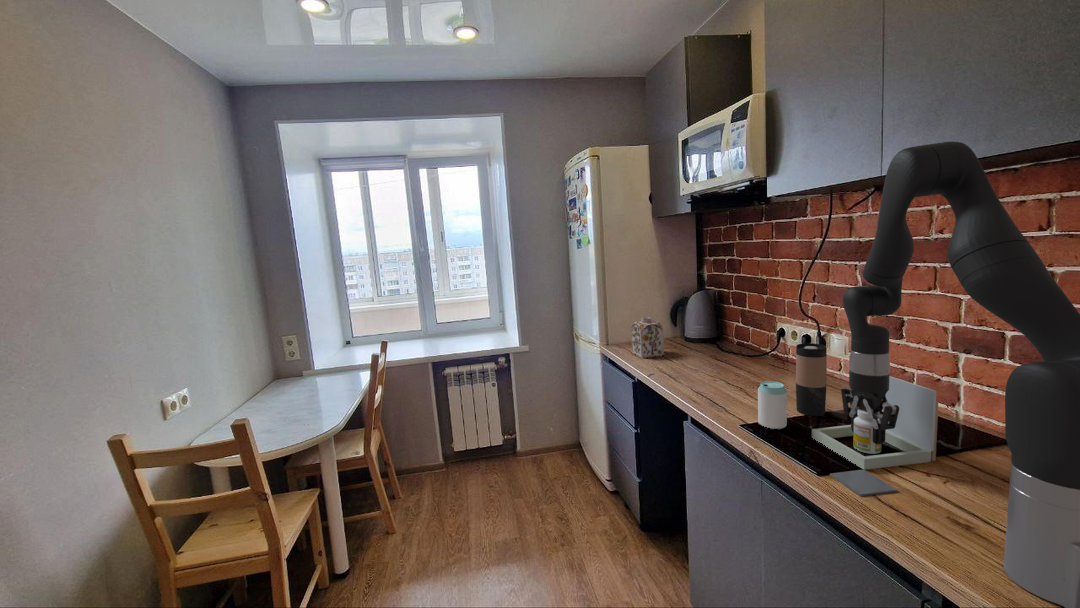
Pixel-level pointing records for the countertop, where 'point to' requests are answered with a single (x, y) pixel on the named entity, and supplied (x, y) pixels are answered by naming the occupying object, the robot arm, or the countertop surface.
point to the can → (772, 405)
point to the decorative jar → (647, 338)
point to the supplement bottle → (865, 434)
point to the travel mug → (811, 378)
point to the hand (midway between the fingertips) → (867, 437)
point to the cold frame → (896, 429)
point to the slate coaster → (863, 482)
